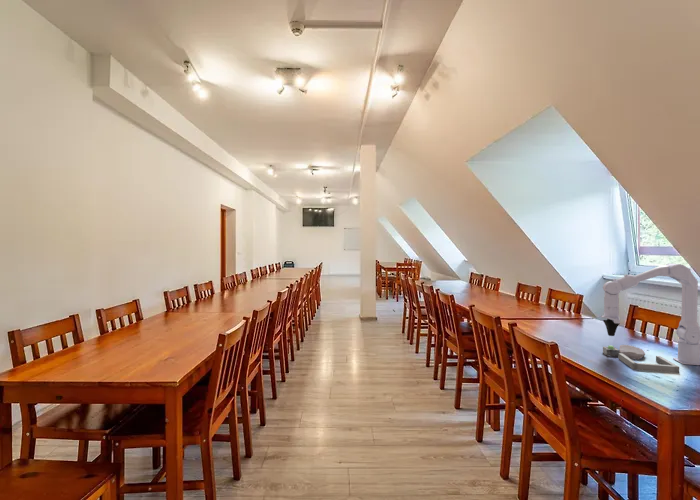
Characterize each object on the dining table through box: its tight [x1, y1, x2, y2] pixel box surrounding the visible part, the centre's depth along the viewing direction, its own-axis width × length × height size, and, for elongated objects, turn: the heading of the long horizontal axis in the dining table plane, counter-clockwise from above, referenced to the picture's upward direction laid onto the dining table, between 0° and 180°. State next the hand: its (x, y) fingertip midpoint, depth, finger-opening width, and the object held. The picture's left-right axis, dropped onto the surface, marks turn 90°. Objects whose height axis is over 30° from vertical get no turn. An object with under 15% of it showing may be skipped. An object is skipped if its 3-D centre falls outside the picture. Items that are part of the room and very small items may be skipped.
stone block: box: [618, 344, 646, 361], centre depth 177 cm, size 12×5×10 cm
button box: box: [602, 346, 619, 358], centre depth 179 cm, size 5×5×3 cm
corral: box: [617, 353, 680, 374], centre depth 164 cm, size 16×16×2 cm
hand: (611, 335), depth 179 cm, fingers closed
